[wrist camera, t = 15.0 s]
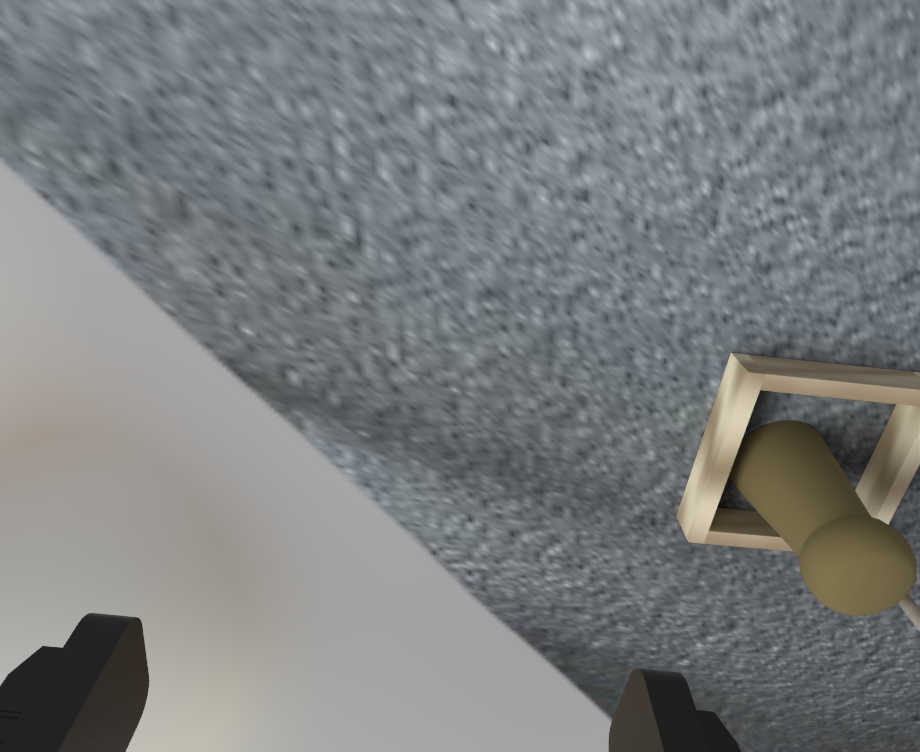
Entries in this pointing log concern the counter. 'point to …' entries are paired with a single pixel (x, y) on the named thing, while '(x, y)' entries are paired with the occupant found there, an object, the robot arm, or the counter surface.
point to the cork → (823, 519)
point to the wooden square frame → (901, 444)
